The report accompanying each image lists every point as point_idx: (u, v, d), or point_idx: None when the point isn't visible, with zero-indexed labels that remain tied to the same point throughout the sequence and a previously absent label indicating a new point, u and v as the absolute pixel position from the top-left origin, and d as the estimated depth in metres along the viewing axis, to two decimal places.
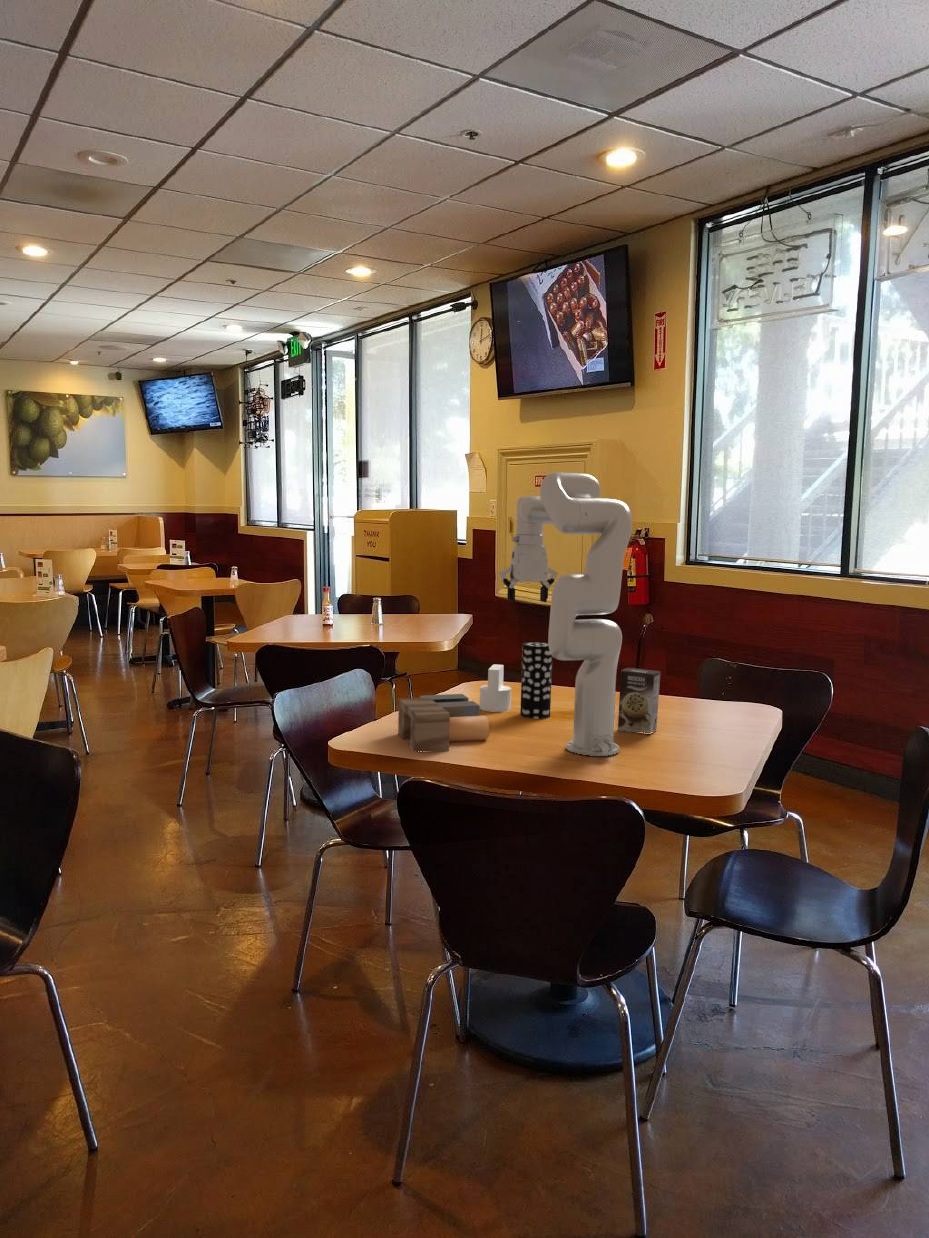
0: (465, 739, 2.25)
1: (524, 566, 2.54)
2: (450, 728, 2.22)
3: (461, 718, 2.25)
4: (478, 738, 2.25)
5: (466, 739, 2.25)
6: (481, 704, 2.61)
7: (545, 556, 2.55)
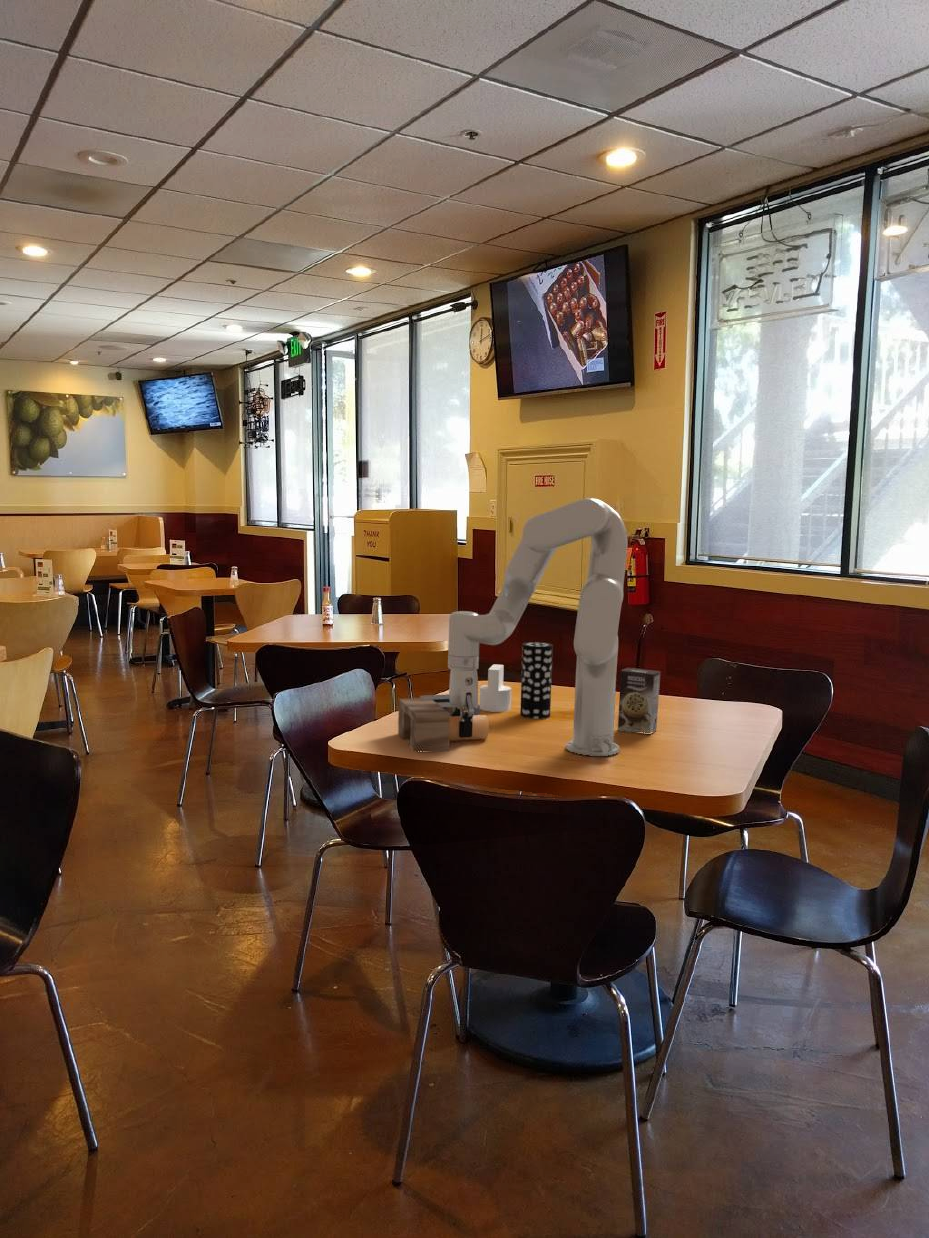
0: (465, 738, 2.25)
1: None
2: (450, 726, 2.22)
3: (460, 717, 2.25)
4: (478, 737, 2.25)
5: (466, 738, 2.25)
6: (481, 704, 2.61)
7: None
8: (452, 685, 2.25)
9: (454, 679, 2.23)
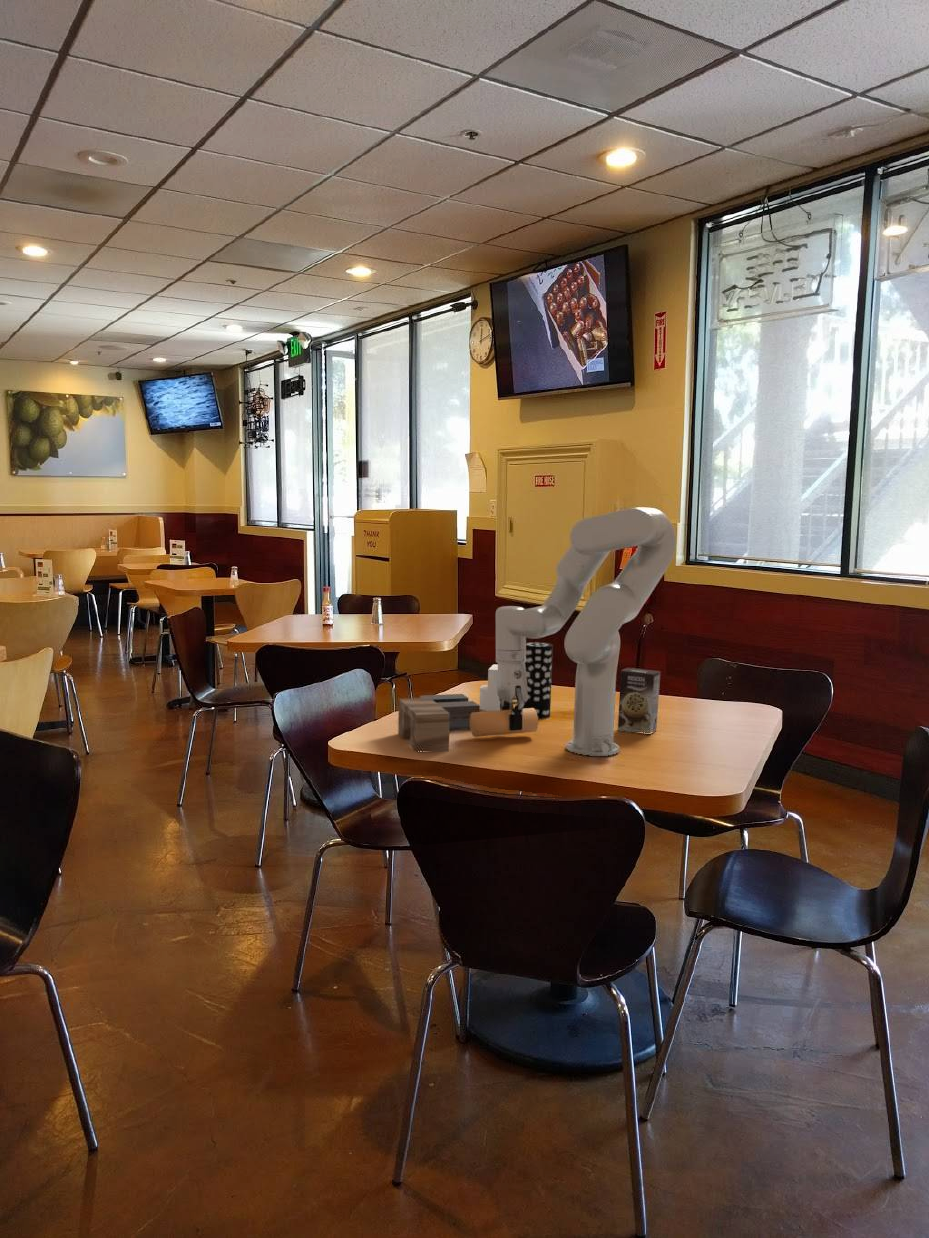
0: (515, 731, 2.28)
1: None
2: (500, 720, 2.25)
3: None
4: (528, 729, 2.28)
5: (516, 731, 2.28)
6: (481, 704, 2.61)
7: None
8: (500, 679, 2.28)
9: (502, 673, 2.26)
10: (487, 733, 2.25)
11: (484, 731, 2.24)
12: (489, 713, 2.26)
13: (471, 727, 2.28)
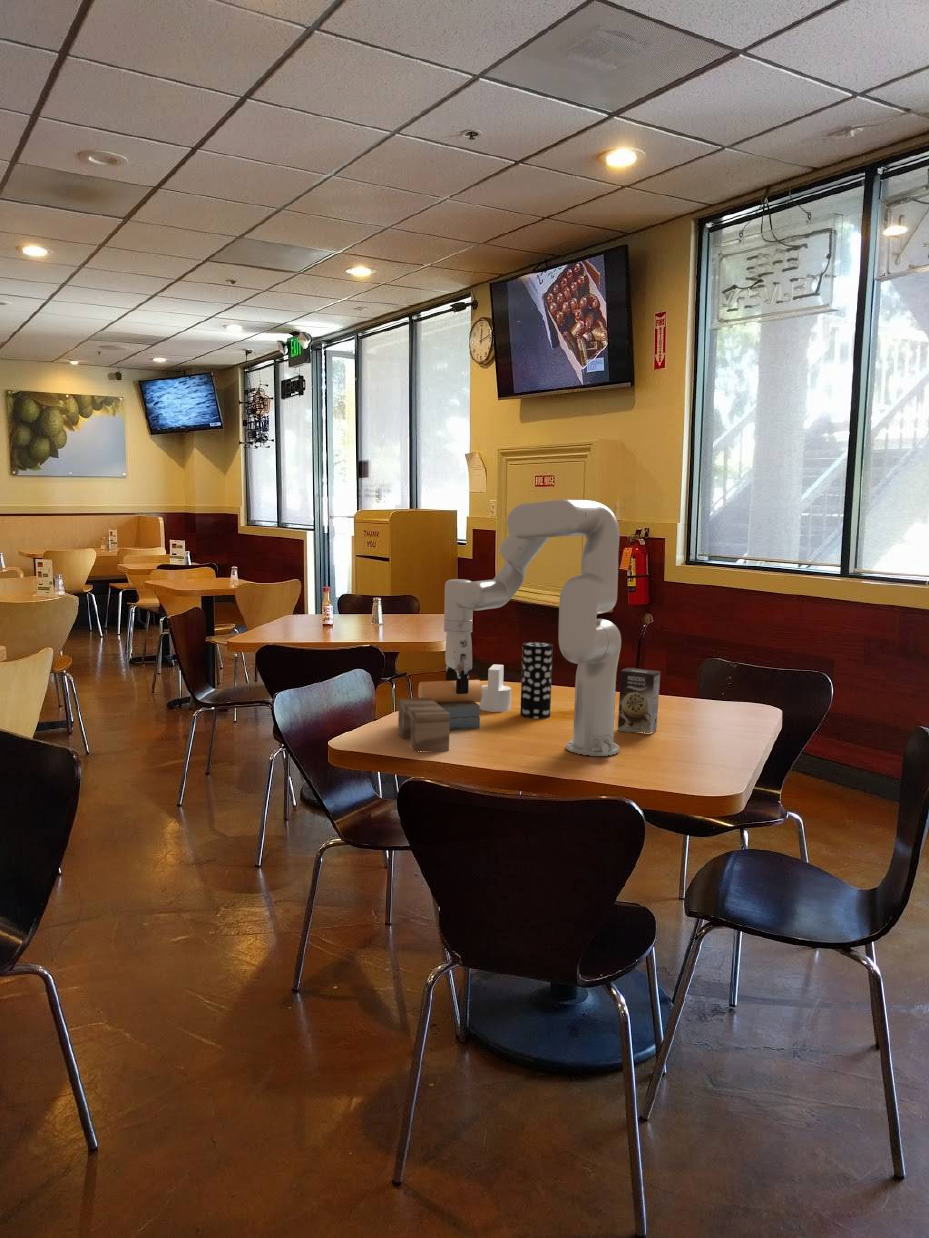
0: (460, 700, 2.42)
1: None
2: (446, 689, 2.40)
3: None
4: (472, 699, 2.43)
5: (461, 700, 2.42)
6: (481, 704, 2.61)
7: None
8: (448, 648, 2.42)
9: (450, 642, 2.40)
10: None
11: None
12: (436, 683, 2.41)
13: (419, 696, 2.42)
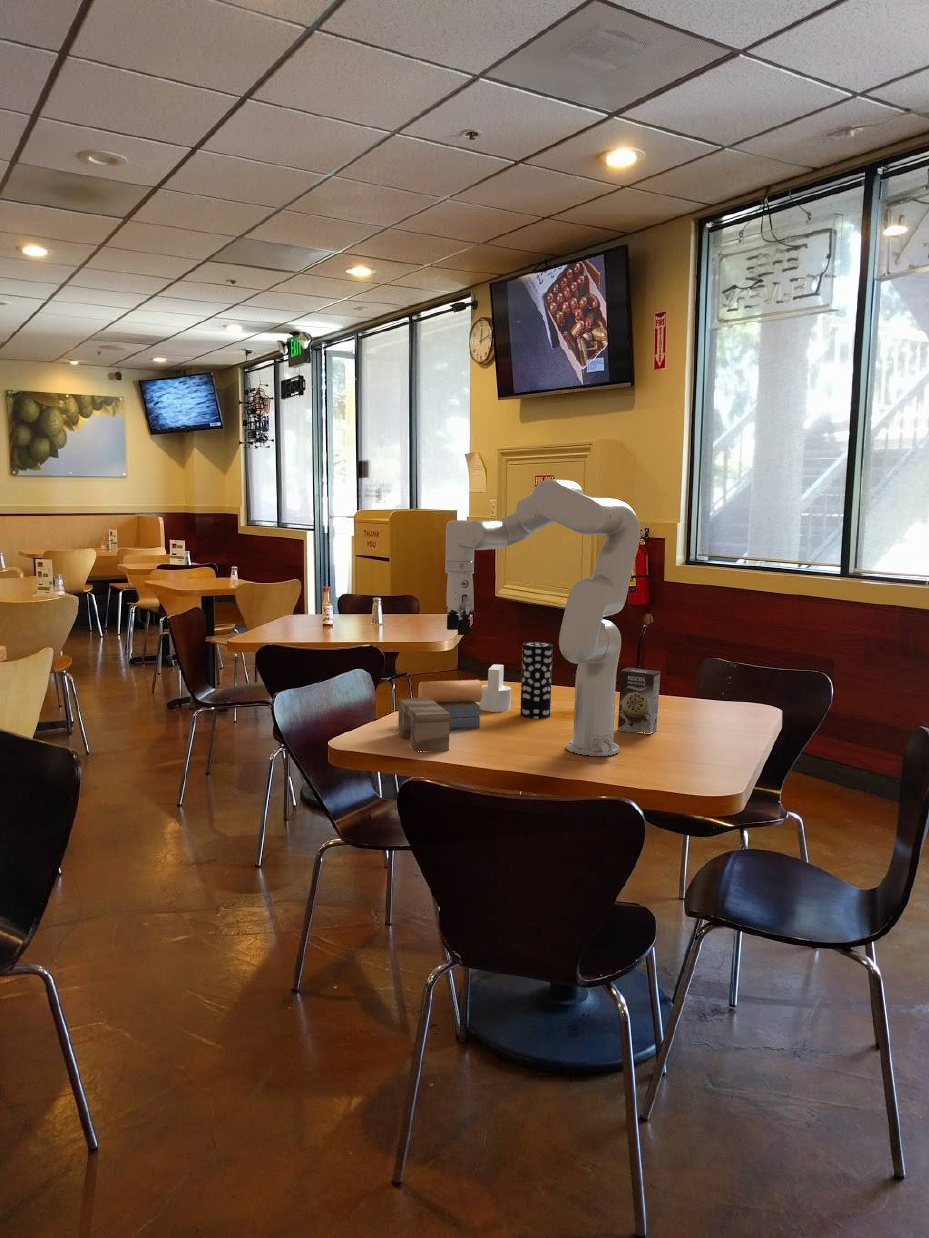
0: (460, 700, 2.42)
1: None
2: (446, 688, 2.40)
3: (456, 681, 2.43)
4: (472, 699, 2.43)
5: (461, 700, 2.42)
6: (481, 704, 2.61)
7: None
8: (449, 589, 2.40)
9: (451, 583, 2.38)
10: None
11: None
12: (436, 682, 2.41)
13: (419, 696, 2.42)
